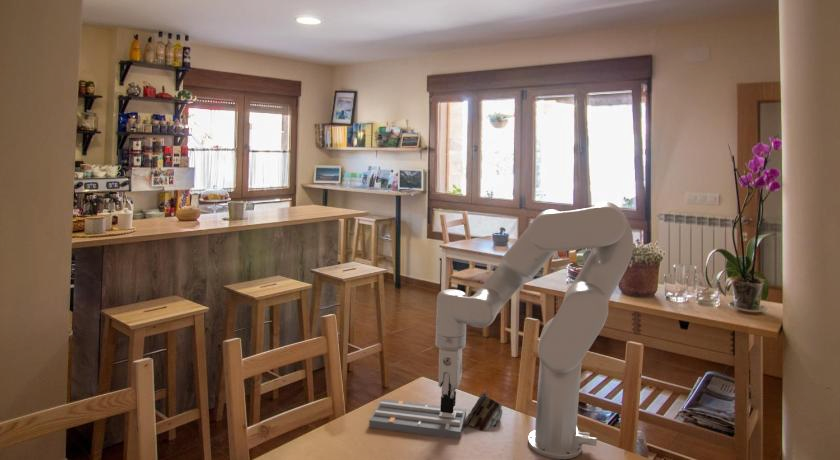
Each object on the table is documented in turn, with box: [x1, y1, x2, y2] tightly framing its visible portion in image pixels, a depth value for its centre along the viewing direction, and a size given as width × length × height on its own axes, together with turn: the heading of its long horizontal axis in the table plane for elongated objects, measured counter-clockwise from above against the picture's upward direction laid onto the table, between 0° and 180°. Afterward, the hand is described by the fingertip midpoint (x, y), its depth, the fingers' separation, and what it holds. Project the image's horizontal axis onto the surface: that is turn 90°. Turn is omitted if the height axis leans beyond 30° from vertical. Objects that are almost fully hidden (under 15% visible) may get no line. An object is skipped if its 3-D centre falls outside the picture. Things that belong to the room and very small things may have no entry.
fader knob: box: [439, 389, 456, 420], centre depth 137 cm, size 4×3×7 cm
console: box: [368, 398, 467, 441], centre depth 139 cm, size 23×12×3 cm, turn 79°
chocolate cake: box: [463, 388, 503, 432], centre depth 140 cm, size 10×7×12 cm
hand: (447, 408), depth 137 cm, fingers closed on fader knob, 3 cm apart
